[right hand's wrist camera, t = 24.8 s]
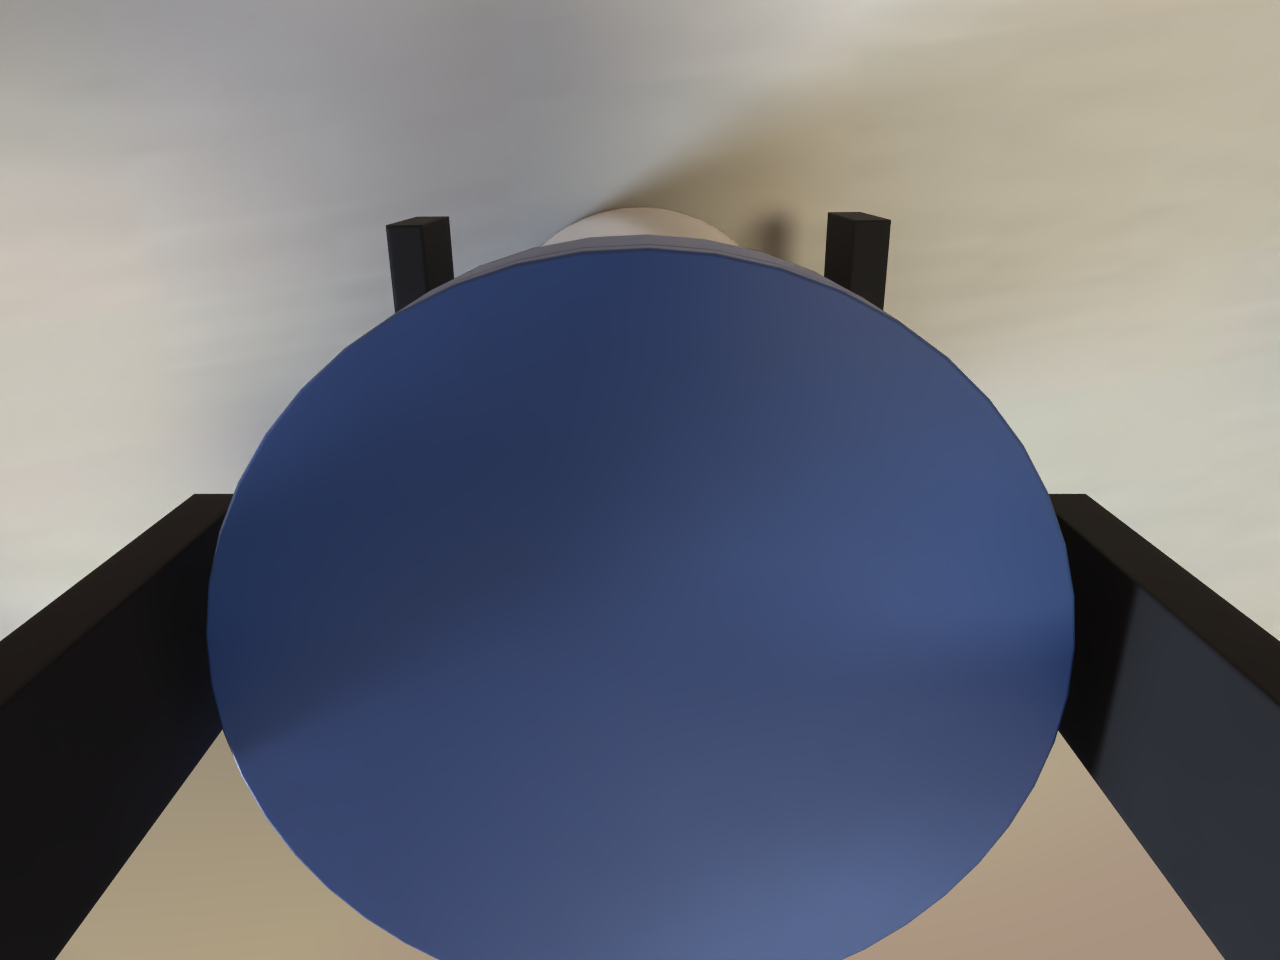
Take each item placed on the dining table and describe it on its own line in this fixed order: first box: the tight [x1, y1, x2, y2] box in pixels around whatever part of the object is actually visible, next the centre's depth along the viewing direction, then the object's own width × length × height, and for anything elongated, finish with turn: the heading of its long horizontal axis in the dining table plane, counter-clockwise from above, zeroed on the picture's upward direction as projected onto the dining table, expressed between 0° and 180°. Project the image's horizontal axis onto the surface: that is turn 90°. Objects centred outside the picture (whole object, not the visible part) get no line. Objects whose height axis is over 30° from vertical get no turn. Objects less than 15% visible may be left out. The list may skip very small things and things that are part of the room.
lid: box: [206, 234, 1075, 960], centre depth 11 cm, size 10×10×2 cm
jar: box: [542, 207, 740, 247], centre depth 19 cm, size 9×9×17 cm
